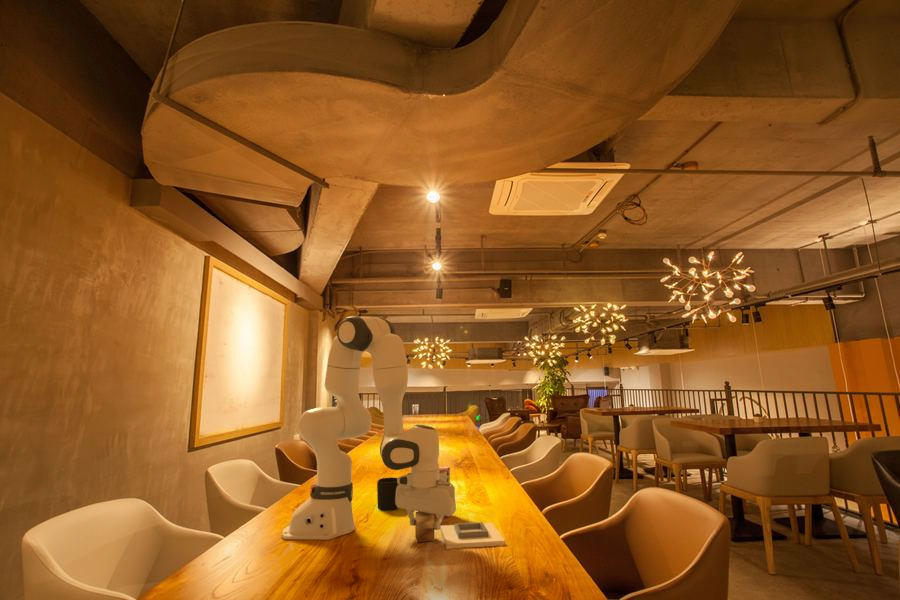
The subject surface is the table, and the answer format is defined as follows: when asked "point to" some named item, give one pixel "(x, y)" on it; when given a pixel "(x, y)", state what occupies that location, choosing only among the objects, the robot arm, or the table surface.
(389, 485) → the pen holder
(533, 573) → the table surface
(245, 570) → the table surface
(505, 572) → the table surface
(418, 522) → the tan rectangular block
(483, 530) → the base plate
